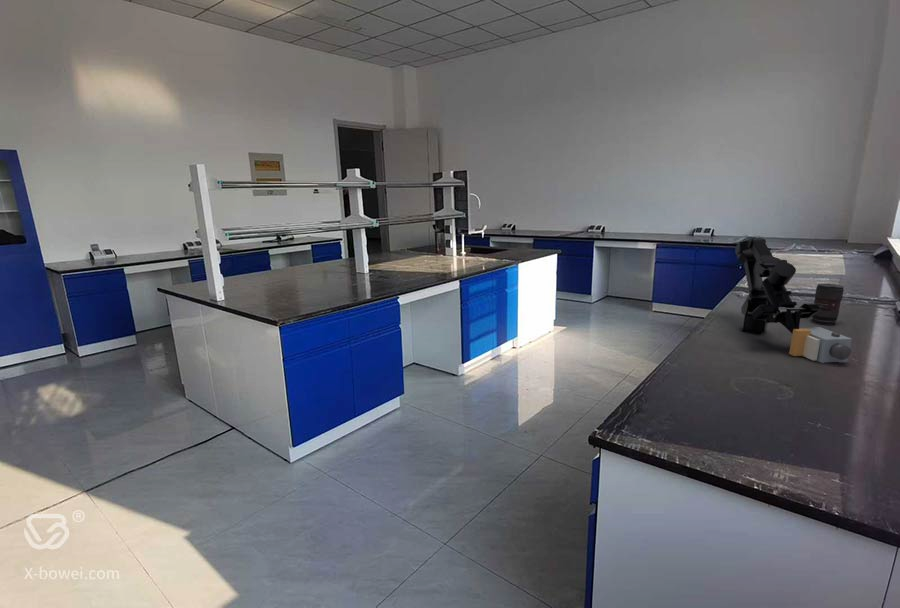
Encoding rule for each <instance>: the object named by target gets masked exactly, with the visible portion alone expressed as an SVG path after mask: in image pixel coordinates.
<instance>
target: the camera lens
mask: <svg viewBox="0 0 900 608" xmlns="http://www.w3.org/2000/svg"><path fill="white" fill-rule="evenodd" d="M844 287H845V286H843V285H839V284H835V283H834V284H833V283H818V284H817V286H816V287H815V288H816V289H815V293H814V301H813V303H815V304H818V306H819V308H820V309H821V310H820V311H819V312H817V313H816V314H815V315H813V316H812V317H811V318H812V323H814V322H815V323H814V324H817V323H819V324H818V325H822V324H825V325H824V326H833V325H835V323H836V321H837V320H838V317H839V313H840V308H841V307H840V306H841V302H842V299H843V295H844V290H845V289H844Z"/></svg>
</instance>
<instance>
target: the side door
mask: <svg viewBox="0 0 900 608" xmlns="http://www.w3.org/2000/svg"><path fill="white" fill-rule="evenodd" d="M810 334H811V331H810V330H807V329H793V334H792V333H791V335H792V336H791V341H790V347H789V351H788V352H789V355H791V356H794V357H805V358H807V359H808V360H810V361H816V360H817V356H818V350H819V345H820V340H819V339H817V338H814V337H812V336H810Z"/></svg>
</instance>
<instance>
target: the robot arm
mask: <svg viewBox="0 0 900 608" xmlns="http://www.w3.org/2000/svg"><path fill="white" fill-rule="evenodd" d="M734 250H735V251H734V252H735V254H736V257H737V260H739V262H741V263H742V264H743V266H744V270H745V271H744V272H745V276H746V277H745V278H746V283H747V288H748V295H747V297H746V298H745V301H744V302H743V303H742V305H741V307H740V312H741V314H742V315H743V316H744V317H743V326H742V328H741V329H740V331H742V332H746V333H751V334H758V335H763V334H764V333H765V332H766V331H767V330H768V324H771V323H773V324H777V323H780V324H781V325H782V326H783V327H784V328H786V330H787V331H789V332H790V334H791V335H792V334H793V329H799V328H800V322H801V320H803V319H807V320H808V319H810V318H812V316H813V315H815V314H816V313H817V312H819V311H820V310H821V309H820V308H819V306H818V304H815V303H814V302H813V303H810V302H809V303H803V304H802V305H800V306H799V307H796V306H797V305H798V304H797V302H796V301H793V299H792V298H791V295H792V294H793V293H792V291H791V290H787V288H786V285H788V283H789V282H790V281H791V279H792V278H793V276H794V275H796V272H797V268H796V267H795V266H794V265H793V264H791V263H789V262H788V260H787V259H781V258H778V257H775V256H773V254H772V252H771V251H770V248H769V246H768V245H767V241H766V239H765V238H762V237H751V238H748V239H747V240H744V241H740V242H739V243H738V244H737V245H735V248H734ZM763 278H764V279H763Z"/></svg>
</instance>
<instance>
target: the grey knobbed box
mask: <svg viewBox="0 0 900 608" xmlns="http://www.w3.org/2000/svg"><path fill="white" fill-rule="evenodd" d="M799 329H807V330H810V331H811V334H810V336H812V337H814V338H817V339H819V340H820V345H819V350H818V356H817V360H815V361H816V362H818V361H819V362H818V363H820V362H821V363H822V364H825V363H824V362H839V363H848V360H849V357H851V354H852V350H851V347H852V341H853V338H851V337H848V336H845V335H843V334H841V333H839V332H835V331H831V330H829V329H826V328H823V327H820V326H814V327H813V326H809V327H808V326H806V327H799Z"/></svg>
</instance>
